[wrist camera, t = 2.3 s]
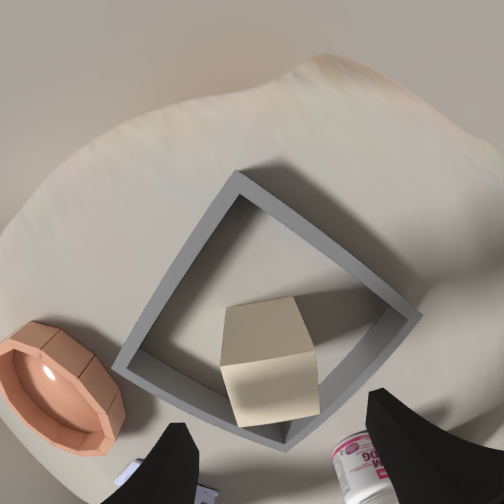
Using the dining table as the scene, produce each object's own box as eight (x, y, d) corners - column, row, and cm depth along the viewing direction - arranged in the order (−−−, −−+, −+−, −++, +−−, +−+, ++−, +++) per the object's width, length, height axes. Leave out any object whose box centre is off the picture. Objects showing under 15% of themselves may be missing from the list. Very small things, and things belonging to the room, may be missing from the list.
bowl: (146, 387, 19) (134, 414, 16) (102, 449, 21) (94, 470, 18) (20, 293, 17) (-3, 308, 14) (7, 379, 19) (-8, 395, 16)
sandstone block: (292, 296, 17) (315, 350, 11) (299, 350, 18) (319, 413, 12) (226, 307, 17) (219, 366, 11) (238, 361, 18) (238, 427, 12)
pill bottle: (382, 424, 21) (417, 493, 12) (375, 452, 22) (402, 514, 14) (331, 438, 21) (356, 515, 12) (329, 465, 22) (348, 532, 14)
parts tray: (404, 300, 18) (423, 315, 15) (282, 429, 20) (285, 452, 17) (236, 171, 15) (235, 169, 13) (123, 348, 18) (110, 368, 15)
